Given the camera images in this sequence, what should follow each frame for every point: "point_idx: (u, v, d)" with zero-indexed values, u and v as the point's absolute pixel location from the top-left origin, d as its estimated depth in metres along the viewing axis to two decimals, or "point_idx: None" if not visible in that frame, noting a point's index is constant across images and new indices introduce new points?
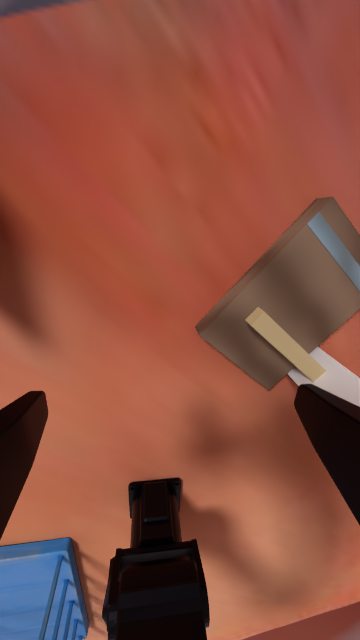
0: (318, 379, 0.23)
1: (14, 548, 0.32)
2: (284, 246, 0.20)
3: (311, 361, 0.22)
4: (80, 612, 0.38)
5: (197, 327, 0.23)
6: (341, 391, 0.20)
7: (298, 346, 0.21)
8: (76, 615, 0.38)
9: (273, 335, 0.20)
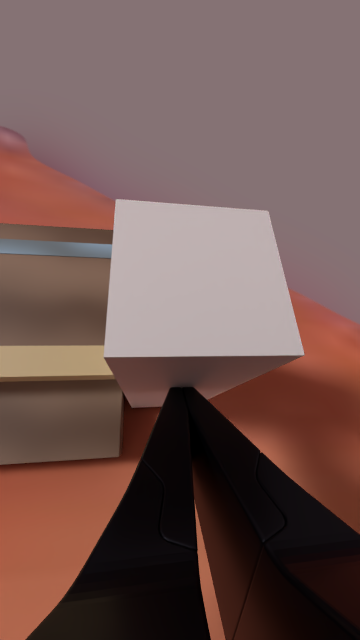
0: None
1: None
2: None
3: (88, 351, 0.12)
4: None
5: None
6: None
7: (42, 348, 0.12)
8: None
9: None
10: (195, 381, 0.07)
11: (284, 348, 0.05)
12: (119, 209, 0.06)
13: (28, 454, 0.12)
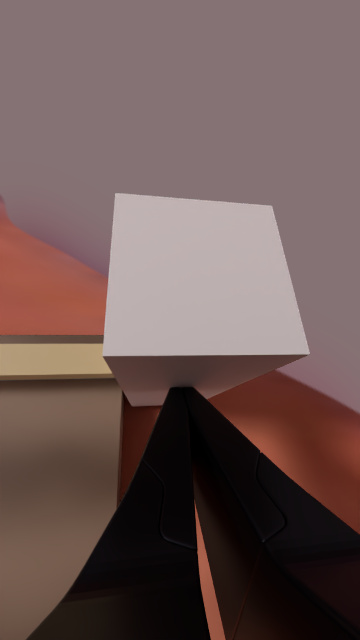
0: None
1: None
2: None
3: (88, 349, 0.12)
4: None
5: None
6: None
7: (41, 346, 0.12)
8: None
9: None
10: (196, 380, 0.07)
11: (289, 347, 0.05)
12: (119, 203, 0.06)
13: None
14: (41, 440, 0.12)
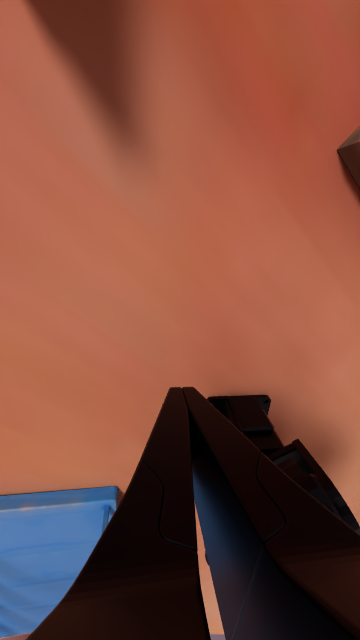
0: None
1: (50, 495, 0.26)
2: None
3: None
4: None
5: (344, 145, 0.17)
6: None
7: None
8: None
9: None
10: None
11: None
12: None
13: None
14: None
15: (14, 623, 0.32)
